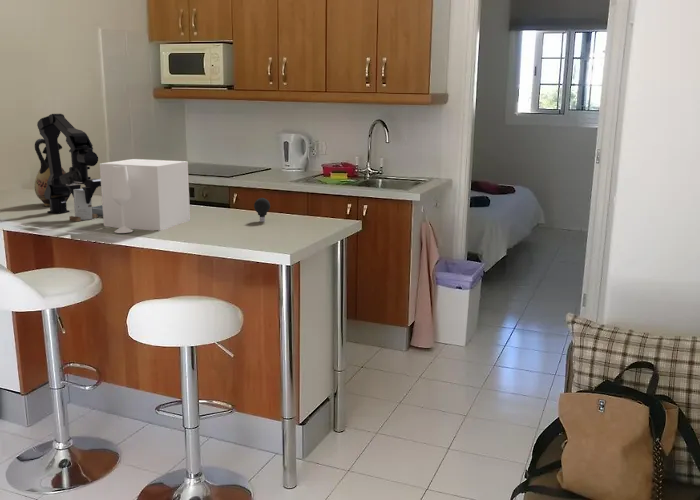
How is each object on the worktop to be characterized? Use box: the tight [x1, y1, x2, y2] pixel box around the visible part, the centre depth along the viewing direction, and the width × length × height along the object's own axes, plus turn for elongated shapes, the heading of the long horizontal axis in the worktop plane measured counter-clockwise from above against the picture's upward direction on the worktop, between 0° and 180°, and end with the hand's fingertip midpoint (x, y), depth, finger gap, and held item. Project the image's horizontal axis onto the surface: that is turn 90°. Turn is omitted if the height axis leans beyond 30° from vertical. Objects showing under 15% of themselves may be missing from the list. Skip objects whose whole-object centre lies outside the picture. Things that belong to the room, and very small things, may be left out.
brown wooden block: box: [69, 214, 98, 222], centre depth 274 cm, size 5×10×2 cm, turn 152°
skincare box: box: [73, 188, 93, 221], centre depth 273 cm, size 6×4×12 cm
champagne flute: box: [112, 166, 134, 234], centre depth 248 cm, size 7×7×24 cm
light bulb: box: [253, 197, 271, 223], centre depth 270 cm, size 6×6×10 cm
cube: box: [99, 158, 191, 232], centre depth 264 cm, size 25×21×24 cm
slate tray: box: [92, 204, 103, 218], centre depth 287 cm, size 14×14×3 cm
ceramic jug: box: [34, 138, 72, 208], centre depth 304 cm, size 17×15×30 cm
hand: (82, 203), depth 272 cm, fingers closed on skincare box, 6 cm apart
